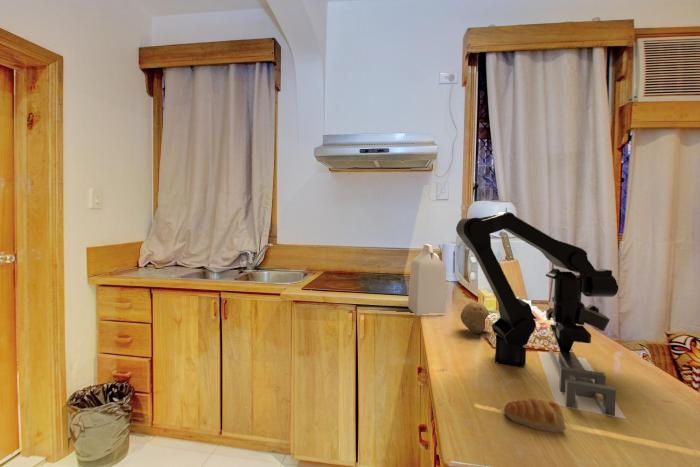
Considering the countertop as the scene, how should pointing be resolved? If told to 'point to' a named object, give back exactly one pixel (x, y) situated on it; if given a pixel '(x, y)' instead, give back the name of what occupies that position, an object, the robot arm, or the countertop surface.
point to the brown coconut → (474, 316)
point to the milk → (427, 283)
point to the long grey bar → (572, 362)
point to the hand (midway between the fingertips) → (564, 357)
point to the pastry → (536, 414)
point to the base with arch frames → (579, 386)
